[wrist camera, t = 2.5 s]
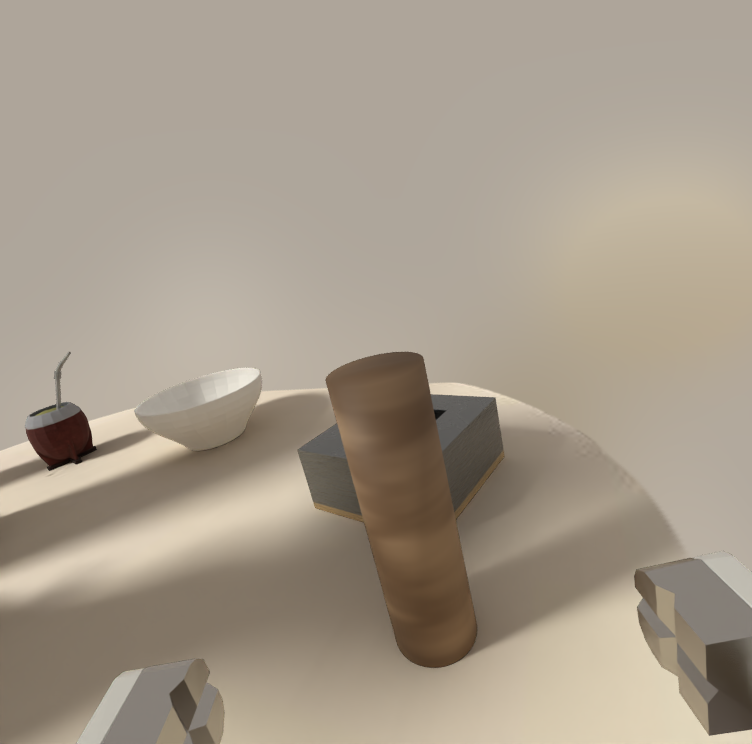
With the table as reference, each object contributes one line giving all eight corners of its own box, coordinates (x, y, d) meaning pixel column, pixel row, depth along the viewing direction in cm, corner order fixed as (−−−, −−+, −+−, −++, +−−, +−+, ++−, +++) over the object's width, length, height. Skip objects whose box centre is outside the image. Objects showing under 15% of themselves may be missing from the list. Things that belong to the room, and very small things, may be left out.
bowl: (289, 404, 66) (276, 360, 64) (251, 457, 50) (231, 401, 48) (192, 421, 68) (176, 379, 66) (127, 477, 53) (104, 425, 51)
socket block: (315, 508, 37) (297, 449, 36) (394, 441, 46) (382, 392, 45) (437, 544, 30) (421, 472, 28) (504, 456, 39) (495, 397, 37)
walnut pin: (379, 645, 24) (305, 385, 19) (422, 586, 27) (366, 352, 22) (452, 683, 21) (384, 389, 16) (490, 612, 24) (441, 350, 20)
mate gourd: (39, 467, 64) (-9, 370, 59) (98, 441, 69) (57, 351, 65) (52, 477, 59) (0, 372, 54) (114, 449, 64) (71, 351, 60)
